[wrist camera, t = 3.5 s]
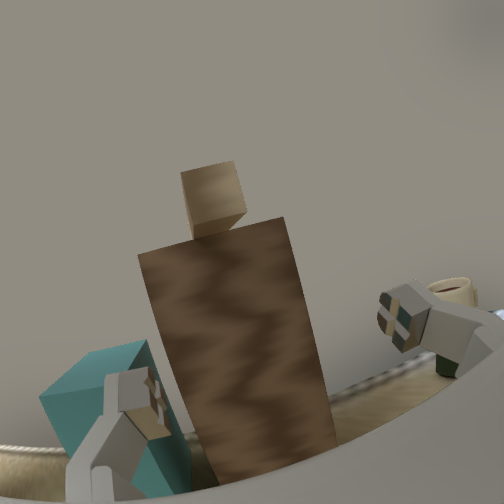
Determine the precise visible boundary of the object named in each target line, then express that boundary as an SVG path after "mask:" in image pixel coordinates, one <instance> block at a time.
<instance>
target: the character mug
mask: <svg viewBox="0 0 504 504" xmlns="http://www.w3.org/2000/svg"><path fill="white" fill-rule="evenodd" d="M426 288H427V289H429V290H430V291H431V292H432V293H433V294H434V295H436V296H437V297H438V298H439V299H440V300H441V301H445V300H446V301H450V302H453V303H457V304H461V305H464V306H468V307H472V308H476V307H477V306H478V295H477V289H476V287H475V286H473V285H472V281H471V279H470V278H466V277H456V278H449V279H446V280H441V281H438V282H435V283H432V284H430V285H429V286H427V287H426ZM458 366H459V364H458V363H456V362H454V361H452V360H449V359H447V358H445V357H443V356H441V355H438V354H436V372H437V373H439V374H441V375H445V376H455V372H456V370H457V368H458Z"/></svg>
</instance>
